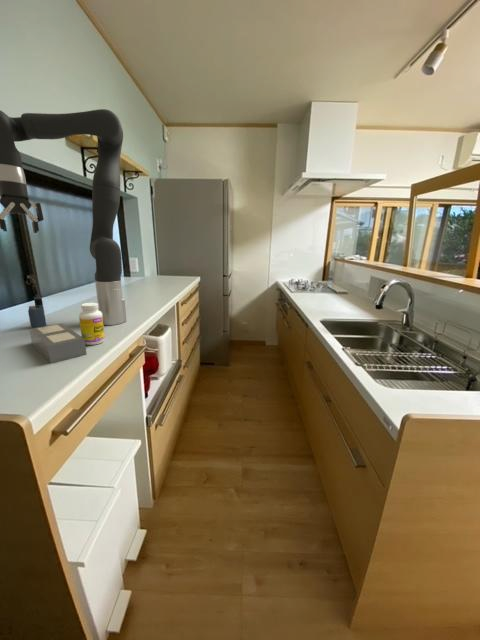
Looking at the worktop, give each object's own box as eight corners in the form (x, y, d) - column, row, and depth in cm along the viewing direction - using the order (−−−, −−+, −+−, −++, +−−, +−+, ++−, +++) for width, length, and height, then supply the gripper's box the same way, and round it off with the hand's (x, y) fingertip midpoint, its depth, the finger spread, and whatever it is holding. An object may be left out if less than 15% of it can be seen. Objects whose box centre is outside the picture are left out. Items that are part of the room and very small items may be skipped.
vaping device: (48, 325, 104) (43, 294, 101) (34, 328, 99) (28, 297, 96) (43, 324, 105) (38, 293, 102) (29, 327, 100) (23, 296, 97)
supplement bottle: (95, 346, 85) (91, 307, 82) (77, 344, 87) (72, 305, 83) (109, 339, 92) (105, 302, 88) (92, 337, 93) (88, 301, 89)
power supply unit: (64, 337, 92) (61, 322, 91) (86, 354, 80) (84, 337, 78) (31, 343, 86) (29, 328, 84) (50, 363, 73) (47, 345, 72)
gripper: (-15, 176, 83) (-4, 231, 88) (40, 184, 94) (47, 233, 98) (-19, 178, 88) (-8, 231, 92) (34, 186, 98) (41, 233, 103)
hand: (20, 232), depth 95 cm, fingers open, 8 cm apart
